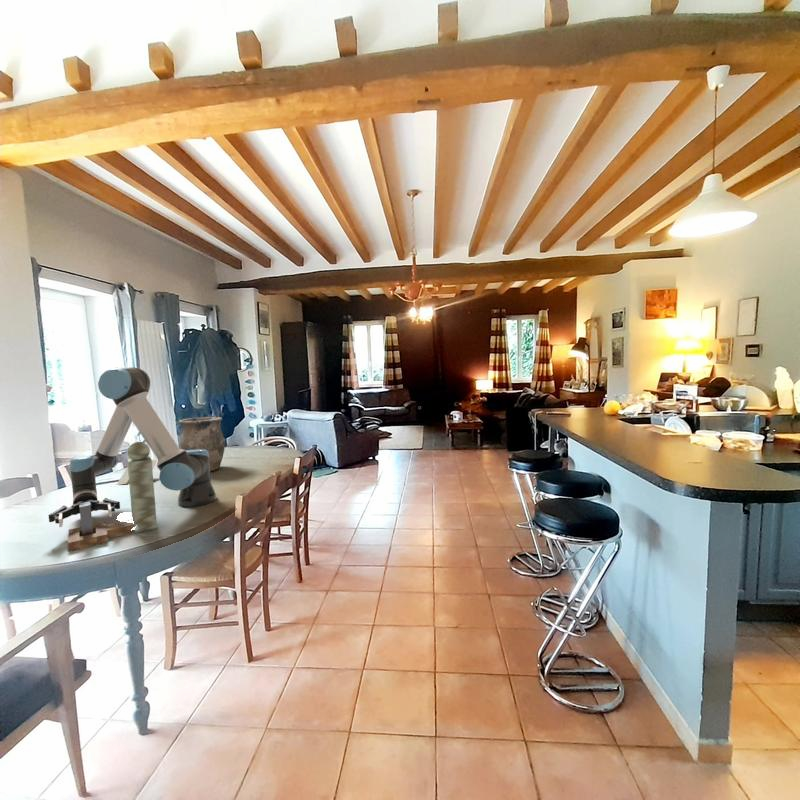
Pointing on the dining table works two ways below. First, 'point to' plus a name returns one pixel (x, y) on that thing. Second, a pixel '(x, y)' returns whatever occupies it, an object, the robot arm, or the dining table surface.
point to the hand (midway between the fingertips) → (86, 517)
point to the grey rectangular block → (86, 518)
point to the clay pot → (204, 438)
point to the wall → (125, 476)
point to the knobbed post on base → (140, 503)
